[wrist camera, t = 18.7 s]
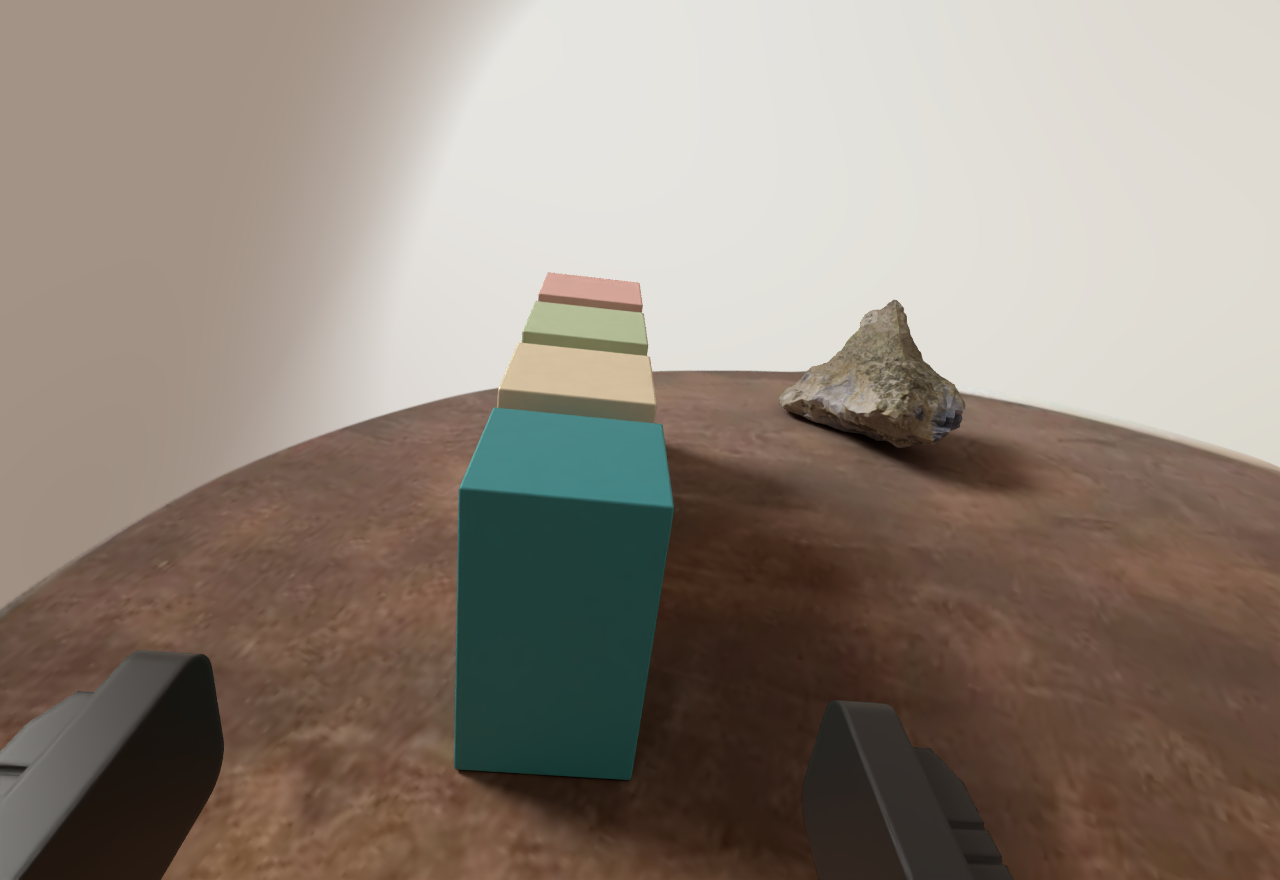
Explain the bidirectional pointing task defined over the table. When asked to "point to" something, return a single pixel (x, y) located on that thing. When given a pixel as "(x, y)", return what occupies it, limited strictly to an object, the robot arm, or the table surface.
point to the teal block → (558, 592)
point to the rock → (879, 387)
